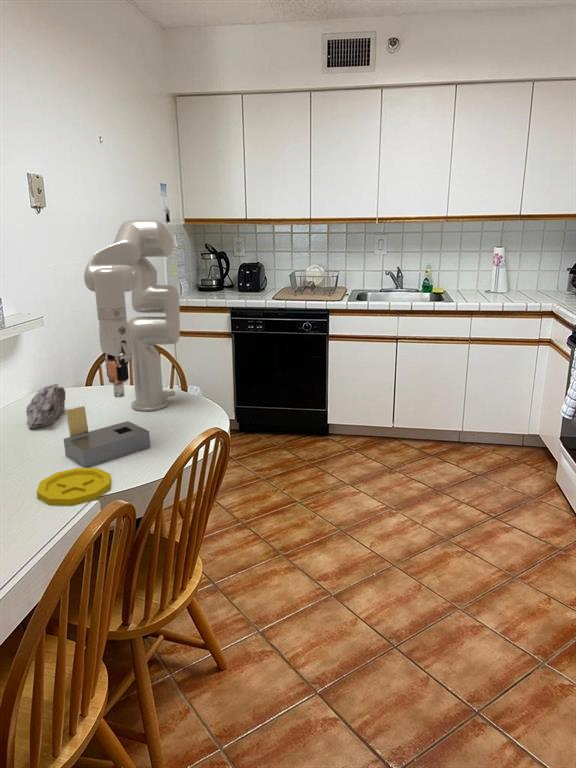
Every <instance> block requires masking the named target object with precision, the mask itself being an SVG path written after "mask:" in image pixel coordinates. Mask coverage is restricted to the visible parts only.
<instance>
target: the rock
mask: <svg viewBox="0 0 576 768" xmlns="http://www.w3.org/2000/svg"><path fill="white" fill-rule="evenodd" d="M65 401H66V390H65V388H64V387H63V386H59V383H54V384H51V385H48V386H46V385H45V386H42V387H41V388H40V389H39V390H38V391H37V392H36V393H35V395H34V396H33V397H32V399H31V400H30V403H29V404H28V405H27V406H26V410H25V411H26V416H27V417H26V419H27V425H28V426H27V427H28V429H30V430H33V429H39V428H41V427H43V426H44V427H45V426H51V425H52V423H55V421H57V419H59V418H60V416H61V415H62V414H63V413H64V412H65V408H66V407H65V404H66V402H65Z"/></svg>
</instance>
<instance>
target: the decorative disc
mask: <svg viewBox="0 0 576 768" xmlns="http://www.w3.org/2000/svg"><path fill="white" fill-rule="evenodd" d="M111 475H112V474H111V473H109V472H107V471H105V470H103V469H101V468H99V467H87V468H84V467H75V468H72V469H70V468H69V469H67V470H62V471H58V472H55V473H53V474H51V475H50V476H48V477H46V478H44V479H43V480H40V481H39V484H38V486H37V489H36V496H37V499H39V500H40V501H43V502H44V503H45V504H47V505H49V506H75V505H79V504H82V503H87V502H90V501H94V500H97V499H99V498H100V497H101V496H103V495H104V494H106V493H107V492H109V491H110V490H111V489H112V488H111V487H112V476H111Z"/></svg>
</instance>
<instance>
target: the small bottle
mask: <svg viewBox="0 0 576 768" xmlns="http://www.w3.org/2000/svg"><path fill="white" fill-rule="evenodd" d="M121 359H123V357H122V358H120V361H121ZM106 364H107V368H108V376H107V377H108V382H109V384H110V383H111V384H112V386H113V396H114V398H117V399H118V398H123V397H125V396H126V395H125V385H124V383H126V382H127V381H128V380H124V381H118V380H117V370H116V367H118V366H117V362H116V358H113V359H109V360H107V363H106ZM107 368H106V369H107Z"/></svg>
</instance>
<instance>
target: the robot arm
mask: <svg viewBox="0 0 576 768" xmlns="http://www.w3.org/2000/svg"><path fill="white" fill-rule="evenodd" d="M173 250H174V240H173V237H172V234H171V233H170V230H169V229H168V228H167V226H165V224H164V223H163V222H161V221H159V220H156V219H154V220H153V219H151V220H149V219H147V220H127V221H125V222H123V223H122V224H121V225H120V226H119V229H118V231H117V233H116V235H115V238H114V241H113V243H111V244H109V245H107V246H104V247H103V248H102V249H99V250H98V251H96V252H95V253H94V254H93V255H91V256H90V258H89V260H88V263H87V264H86V267H85V270H84V277H83V279H84V280H83V281H84V284H85V286H86V288H87V289H88V290H89V291H91V292H93V293H95V303H96V304H95V305H96V312H97V314H96V315H97V320H98V322H99V323H98V325H99V328H98V330H99V331H98V332H99V333H98V334H99V343H100V344H99V345H100V349H101V352H102V353H103V357H104V363H105V367H106V375H107V377H108V368H107V360H109V359H113V358H116V362H117V366H118V367H116V370H117V380H118V381H124V380H127V381H128V380H129V377H130V376H129V362H130V360H132V361H131V362H132V369H133V370H132V372H133V382H134V383H133V385H134V395H135V400H133V401H132V402H131V408H132V409H133V410H136V411H139V412H140V411H141V412H150V411H157V410H162V409H164V408H166V407H167V406H169V401H168V397H170V398H171V397H174V396H175V395H176V391H175V390H170V391H168V390H164V389H163V386H164V385H163V376H162V375H163V372H162V361H161V354H160V353H159V352H158V350H157V348H155V346H156V345H158V346H159V345H163V346H164V345H166V346H167V345H175V344H177V343H178V342H179V340H180V334H181V332H180V331H181V330H180V329H181V328H180V327H181V325H180V324H181V321H180V311H181V310H180V295H179V291H178V289H177V288H176V286H174V285H171V284H158V271H157V269H156V267H155V266H154V264H152V262H151V261H150V260H149V259H148V257H149V258H155V257H156V258H157V257H158V258H161V257H162V258H163V257H164V258H165V257H168V256H169V257H170V255H172V253H173ZM128 292H131V305H132V309H133V310H134V311H135V313H140V314H164V315H165V316H136V317H133V318H131V319H130V320H129V321H128V320H127V318H128V317H127V307H126V295H125V293H128ZM120 358H123V359H121V361H120Z"/></svg>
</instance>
